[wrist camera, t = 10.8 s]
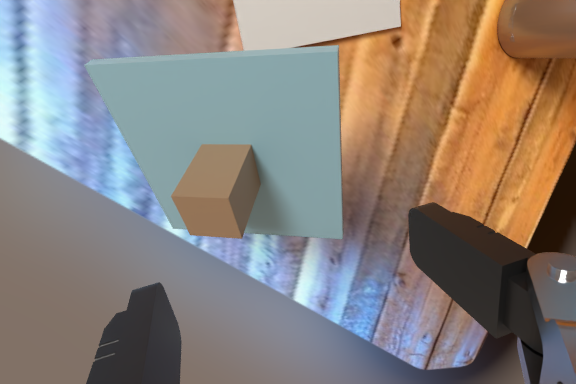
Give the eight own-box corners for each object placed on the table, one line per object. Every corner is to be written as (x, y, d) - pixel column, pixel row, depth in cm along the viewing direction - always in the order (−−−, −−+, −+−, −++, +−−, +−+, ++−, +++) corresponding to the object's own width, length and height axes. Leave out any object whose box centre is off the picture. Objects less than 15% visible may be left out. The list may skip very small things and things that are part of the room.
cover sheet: (338, 45, 18) (328, 102, 14) (343, 231, 28) (337, 295, 24) (92, 59, 21) (24, 109, 17) (176, 221, 31) (147, 276, 27)
